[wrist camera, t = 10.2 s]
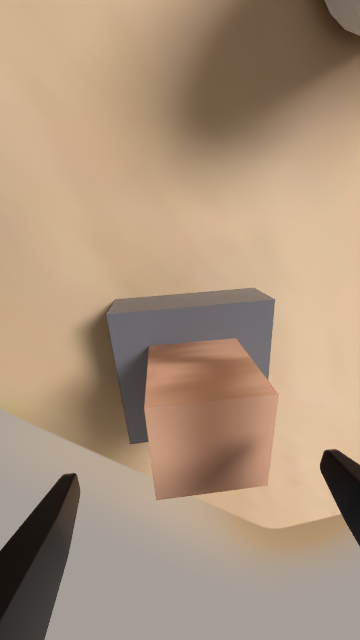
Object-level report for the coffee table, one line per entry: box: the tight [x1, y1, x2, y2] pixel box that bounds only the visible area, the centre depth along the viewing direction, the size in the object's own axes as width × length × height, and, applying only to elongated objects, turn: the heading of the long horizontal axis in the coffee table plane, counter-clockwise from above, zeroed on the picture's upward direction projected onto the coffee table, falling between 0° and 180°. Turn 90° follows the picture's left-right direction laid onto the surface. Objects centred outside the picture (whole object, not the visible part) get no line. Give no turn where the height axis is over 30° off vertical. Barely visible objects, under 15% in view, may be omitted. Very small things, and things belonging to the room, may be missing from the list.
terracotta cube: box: [144, 338, 278, 500], centre depth 14 cm, size 6×6×6 cm
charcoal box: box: [106, 288, 275, 444], centre depth 19 cm, size 11×11×4 cm
